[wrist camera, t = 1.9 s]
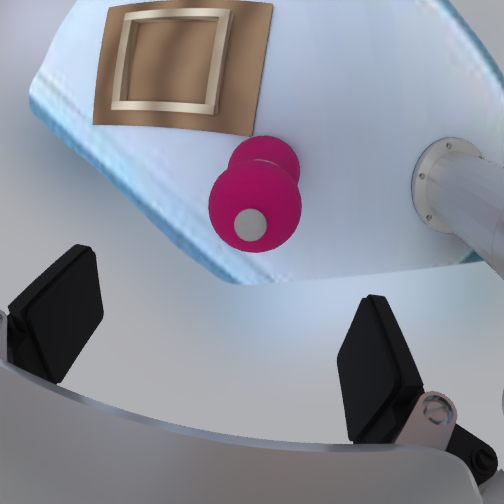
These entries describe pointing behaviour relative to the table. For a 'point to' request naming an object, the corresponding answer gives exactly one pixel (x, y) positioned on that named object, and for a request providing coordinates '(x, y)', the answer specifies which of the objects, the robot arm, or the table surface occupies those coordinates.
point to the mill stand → (183, 65)
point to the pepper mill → (257, 196)
